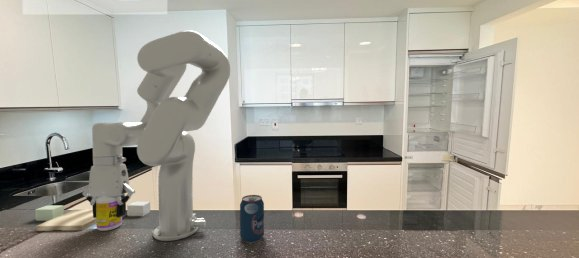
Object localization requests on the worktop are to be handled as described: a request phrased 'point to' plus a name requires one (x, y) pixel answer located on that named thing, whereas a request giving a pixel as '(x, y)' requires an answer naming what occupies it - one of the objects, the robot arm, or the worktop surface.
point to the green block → (49, 212)
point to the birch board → (69, 221)
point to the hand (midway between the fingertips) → (109, 215)
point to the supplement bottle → (107, 213)
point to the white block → (138, 209)
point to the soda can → (251, 218)
